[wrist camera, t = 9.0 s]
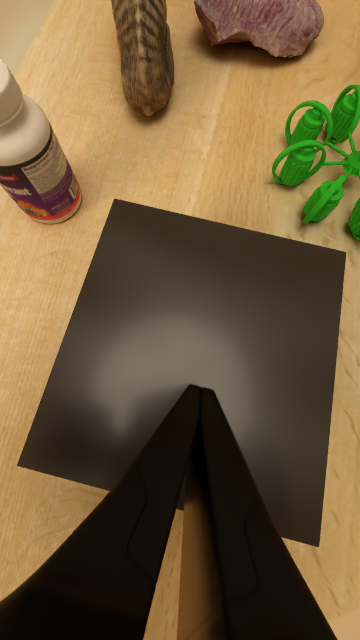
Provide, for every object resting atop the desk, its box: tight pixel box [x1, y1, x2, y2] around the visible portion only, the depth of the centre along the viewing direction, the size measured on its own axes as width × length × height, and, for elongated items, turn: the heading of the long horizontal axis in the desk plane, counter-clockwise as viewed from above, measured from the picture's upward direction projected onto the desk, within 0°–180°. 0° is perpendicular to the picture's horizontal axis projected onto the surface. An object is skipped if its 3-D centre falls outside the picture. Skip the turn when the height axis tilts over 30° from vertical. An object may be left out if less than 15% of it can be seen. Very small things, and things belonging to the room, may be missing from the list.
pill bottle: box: [0, 58, 81, 224], centre depth 19 cm, size 5×5×10 cm
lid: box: [17, 199, 346, 547], centre depth 13 cm, size 14×14×1 cm
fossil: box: [194, 0, 324, 59], centre depth 26 cm, size 8×14×5 cm, turn 92°
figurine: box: [111, 0, 174, 116], centre depth 22 cm, size 6×14×10 cm, turn 1°
